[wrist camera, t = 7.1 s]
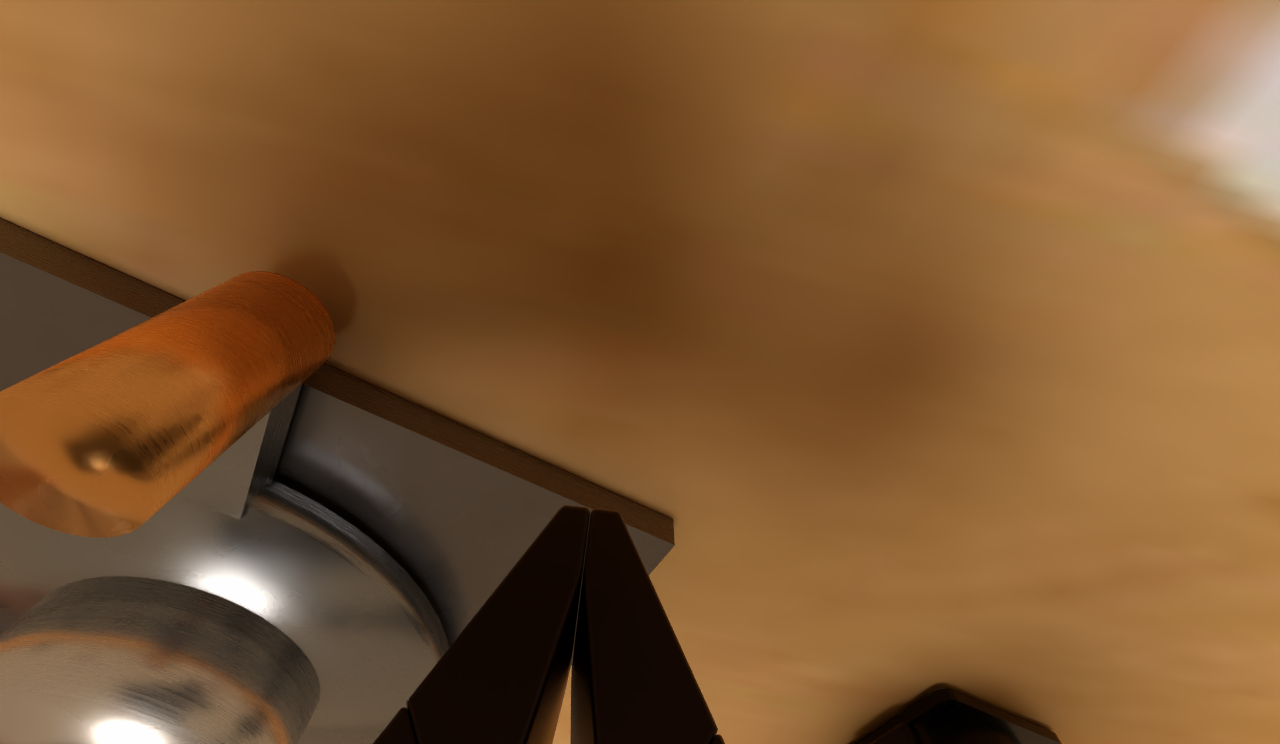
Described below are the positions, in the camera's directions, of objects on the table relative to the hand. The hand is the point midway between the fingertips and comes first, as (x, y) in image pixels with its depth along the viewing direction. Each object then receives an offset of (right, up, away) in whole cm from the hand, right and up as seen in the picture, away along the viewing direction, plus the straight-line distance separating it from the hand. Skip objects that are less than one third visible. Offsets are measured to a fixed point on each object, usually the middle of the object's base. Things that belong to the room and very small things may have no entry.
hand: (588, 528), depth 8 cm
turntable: (-12, -4, +8) cm, 15 cm away
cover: (-13, -7, +8) cm, 17 cm away
